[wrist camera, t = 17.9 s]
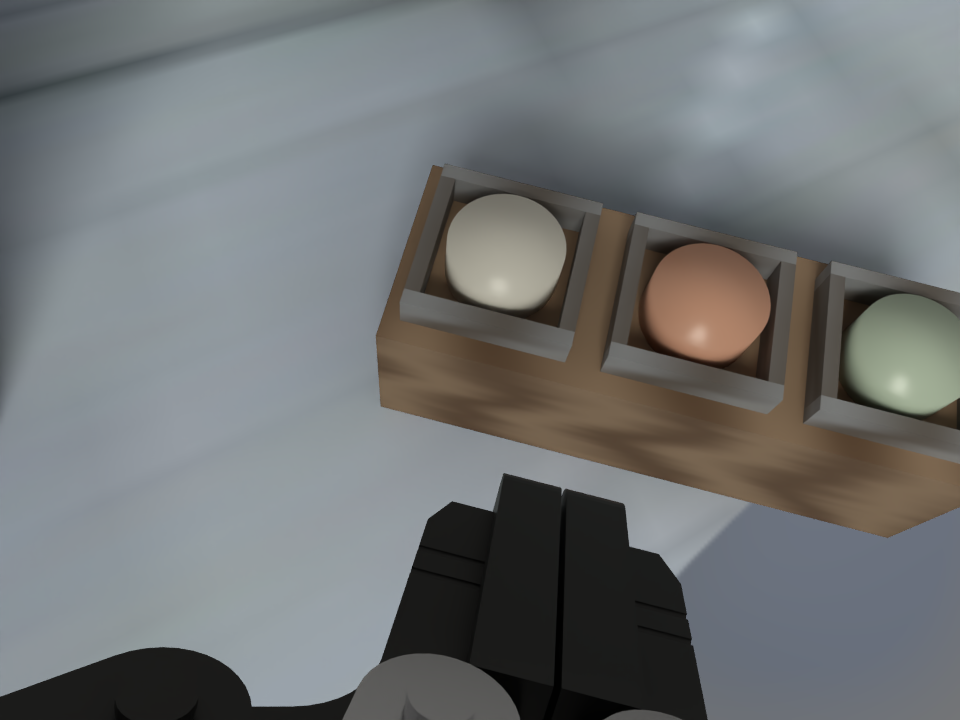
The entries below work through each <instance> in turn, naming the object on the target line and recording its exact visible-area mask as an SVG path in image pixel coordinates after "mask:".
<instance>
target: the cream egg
mask: <svg viewBox="0 0 960 720" xmlns="http://www.w3.org/2000/svg"><path fill="white" fill-rule="evenodd" d="M565 257H566V240H565V236H564V233H563V230H562V228H561V226H560V224H559V223H558V221H557V220H556V219H555V217H554V216H553V215H552V214H551V213H550V212H549V211H548V210H547V209H546V208H544V207H543V206H541V205H540V204H538V203H536V202H535V201H533V200H530V199H528V198H525V197H522V196H518V195H513V194H494V195H488V196H484V197H481V198H479V199H476V200H474V201H472V202H470V203H469V204H467V205H466V206H465V207H463V208H462V209H461V210H460V211H459V212H458V213H457V215H456V216H455V217H454V219H453V221H452V222H451V225H450V227H449V230H448V234H447V244H446V256H445V278H446V282H447V284H448V287H449V289H450V291H451V293H452V295H453V296H454V297H455V298H456V300H457V301H458V302H459V303H463V304H467V305H471V306H475V307H479V308H483V309H487V310H491V311H495V312H498V313H502V314H506V315H510V316H514V317H518V318H526V317H528V316H530V315H532V314H534V313H536V312H537V311H539V310H540V309H541V308H543V307H544V306H545V305H546V304H547V302H548V301H549V300H550V298H551V297H552V295H553V293H554V291H555V288H556V285H557V282H558V279H559V276H560V273H561V270H562V267H563V264H564V261H565Z"/></svg>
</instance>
